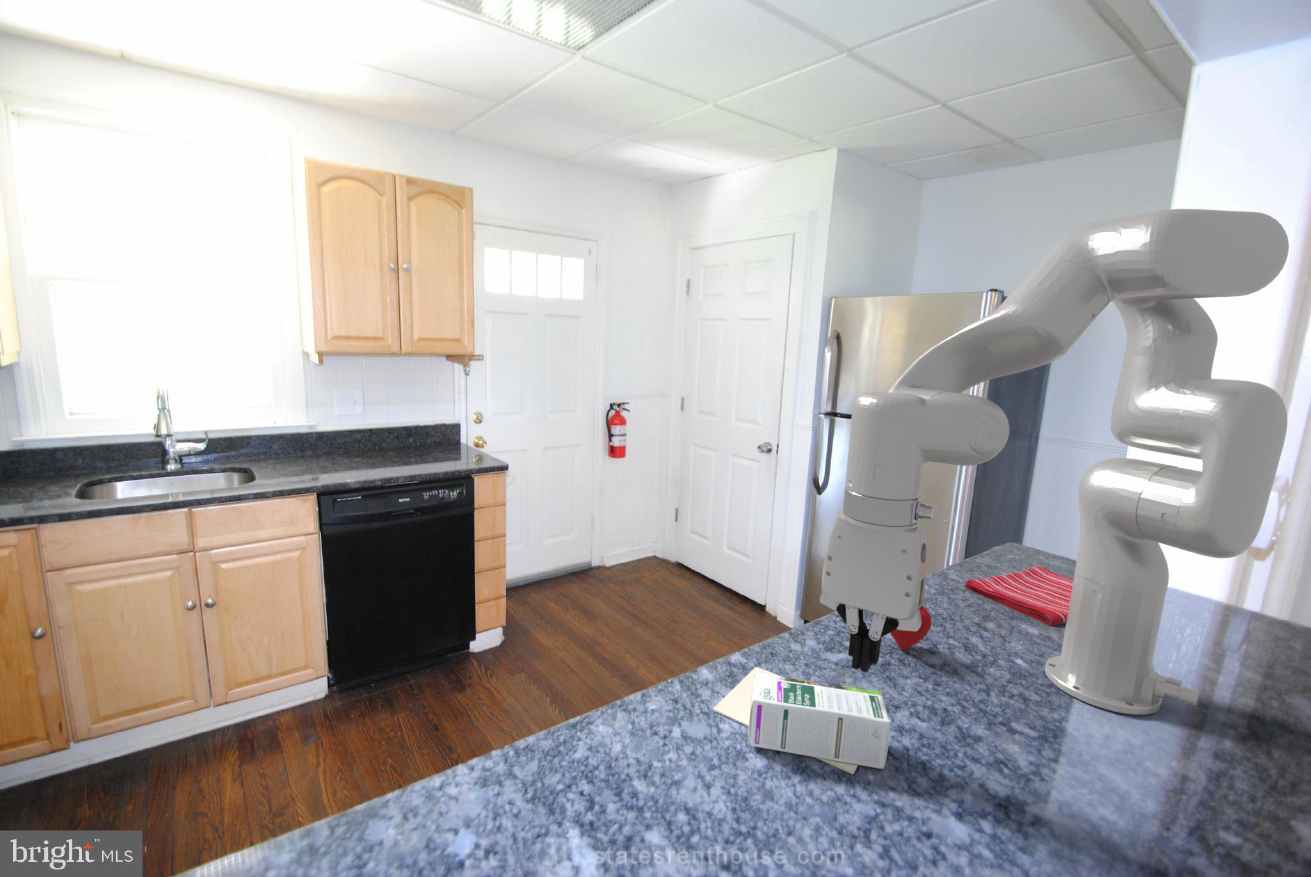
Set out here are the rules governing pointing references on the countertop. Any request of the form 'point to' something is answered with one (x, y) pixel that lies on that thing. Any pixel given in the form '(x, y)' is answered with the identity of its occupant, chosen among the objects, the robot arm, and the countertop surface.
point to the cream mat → (739, 710)
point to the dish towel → (1029, 593)
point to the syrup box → (819, 720)
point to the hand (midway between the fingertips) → (862, 665)
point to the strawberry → (913, 632)
